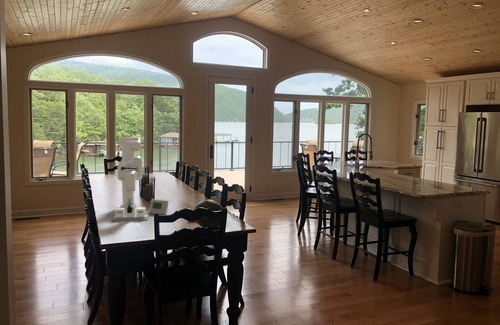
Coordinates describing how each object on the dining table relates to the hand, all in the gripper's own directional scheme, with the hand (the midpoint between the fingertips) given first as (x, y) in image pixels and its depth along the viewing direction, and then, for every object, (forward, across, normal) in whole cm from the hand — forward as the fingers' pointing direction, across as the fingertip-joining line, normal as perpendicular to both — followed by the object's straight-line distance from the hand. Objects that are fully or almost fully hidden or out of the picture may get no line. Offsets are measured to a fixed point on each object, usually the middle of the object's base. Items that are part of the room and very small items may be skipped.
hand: (130, 211), depth 299 cm
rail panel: (+6, 0, 0) cm, 6 cm away
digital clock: (+6, -15, +19) cm, 25 cm away
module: (+4, 0, 0) cm, 4 cm away
